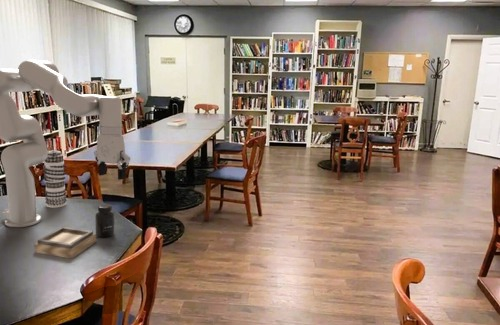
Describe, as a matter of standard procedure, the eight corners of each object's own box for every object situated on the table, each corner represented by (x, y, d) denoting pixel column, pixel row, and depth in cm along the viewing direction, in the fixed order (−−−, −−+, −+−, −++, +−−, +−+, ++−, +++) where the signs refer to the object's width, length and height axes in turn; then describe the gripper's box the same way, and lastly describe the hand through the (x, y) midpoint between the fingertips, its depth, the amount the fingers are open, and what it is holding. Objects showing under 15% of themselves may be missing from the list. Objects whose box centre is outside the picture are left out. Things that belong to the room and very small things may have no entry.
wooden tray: (34, 252, 129) (33, 240, 128) (62, 236, 142) (61, 225, 141) (71, 258, 126) (71, 246, 125) (96, 241, 140) (95, 230, 139)
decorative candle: (71, 202, 179) (69, 150, 173) (60, 208, 169) (57, 154, 164) (53, 200, 179) (50, 148, 174) (40, 206, 170) (37, 152, 165)
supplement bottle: (108, 240, 141) (107, 209, 139) (92, 237, 143) (91, 207, 140) (118, 233, 148) (117, 203, 145) (102, 230, 149) (101, 201, 147)
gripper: (85, 129, 137) (87, 175, 141) (120, 134, 129) (121, 182, 133) (102, 127, 143) (103, 171, 147) (136, 132, 136) (137, 178, 139)
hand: (112, 176), depth 140 cm, fingers open, 9 cm apart
